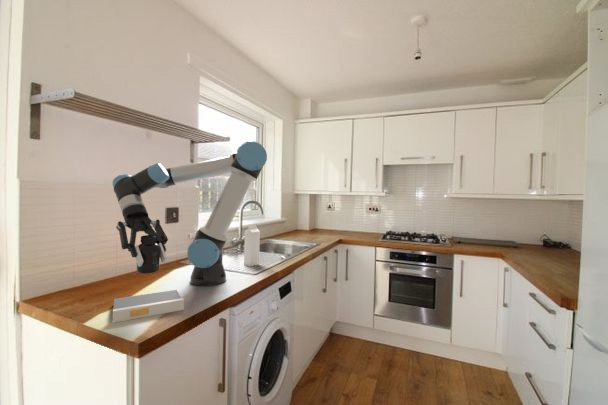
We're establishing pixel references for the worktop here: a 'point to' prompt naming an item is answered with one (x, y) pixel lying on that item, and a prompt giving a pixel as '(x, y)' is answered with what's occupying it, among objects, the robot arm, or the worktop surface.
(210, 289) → the worktop surface
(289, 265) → the worktop surface
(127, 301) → the open storage tray
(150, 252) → the supplement bottle
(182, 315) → the worktop surface
